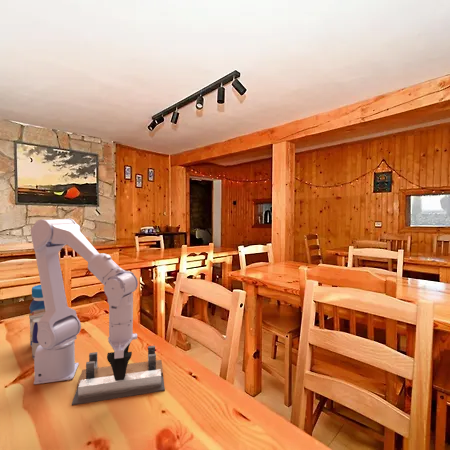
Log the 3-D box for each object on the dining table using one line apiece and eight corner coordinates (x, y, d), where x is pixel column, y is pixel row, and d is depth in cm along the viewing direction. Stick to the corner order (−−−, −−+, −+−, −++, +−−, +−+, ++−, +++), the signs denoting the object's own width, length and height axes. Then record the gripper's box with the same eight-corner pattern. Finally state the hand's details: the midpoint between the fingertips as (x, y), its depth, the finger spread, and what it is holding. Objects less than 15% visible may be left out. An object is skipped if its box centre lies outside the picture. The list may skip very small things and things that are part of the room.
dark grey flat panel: (71, 405, 68) (71, 403, 68) (77, 389, 74) (77, 388, 74) (164, 390, 75) (164, 389, 75) (163, 377, 80) (163, 375, 80)
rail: (78, 398, 70) (78, 387, 70) (80, 391, 73) (80, 380, 73) (161, 386, 76) (161, 375, 75) (160, 379, 79) (160, 369, 78)
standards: (77, 389, 74) (77, 366, 74) (82, 373, 81) (82, 352, 81) (163, 376, 81) (163, 355, 80) (161, 363, 87) (161, 343, 87)
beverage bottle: (64, 338, 102) (63, 283, 100) (47, 350, 93) (46, 290, 92) (42, 336, 103) (41, 282, 101) (23, 348, 94) (22, 289, 93)
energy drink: (42, 361, 87) (41, 323, 86) (27, 359, 88) (27, 321, 87) (56, 352, 92) (55, 316, 91) (42, 350, 93) (41, 314, 92)
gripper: (136, 330, 67) (136, 385, 68) (137, 308, 81) (137, 354, 82) (104, 333, 65) (104, 390, 66) (111, 310, 79) (111, 357, 80)
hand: (120, 370), depth 74 cm, fingers open, 7 cm apart
